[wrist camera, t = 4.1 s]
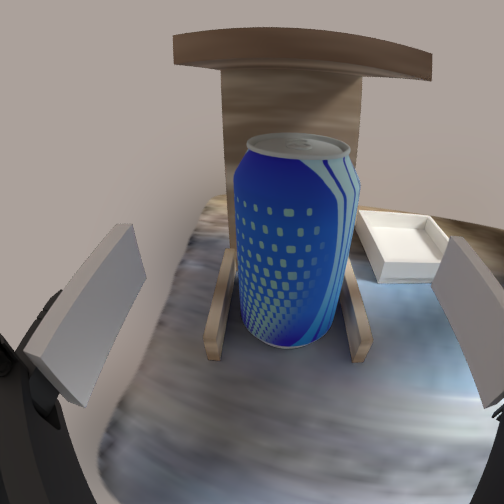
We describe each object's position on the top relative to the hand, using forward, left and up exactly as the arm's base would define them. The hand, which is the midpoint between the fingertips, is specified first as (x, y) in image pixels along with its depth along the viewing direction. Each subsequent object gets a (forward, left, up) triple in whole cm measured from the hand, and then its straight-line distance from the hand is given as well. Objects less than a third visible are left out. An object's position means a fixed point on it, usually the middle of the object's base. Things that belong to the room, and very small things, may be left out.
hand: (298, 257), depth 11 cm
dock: (+5, -10, -14) cm, 17 cm away
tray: (-5, -26, -14) cm, 30 cm away
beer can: (+4, -8, -14) cm, 16 cm away
